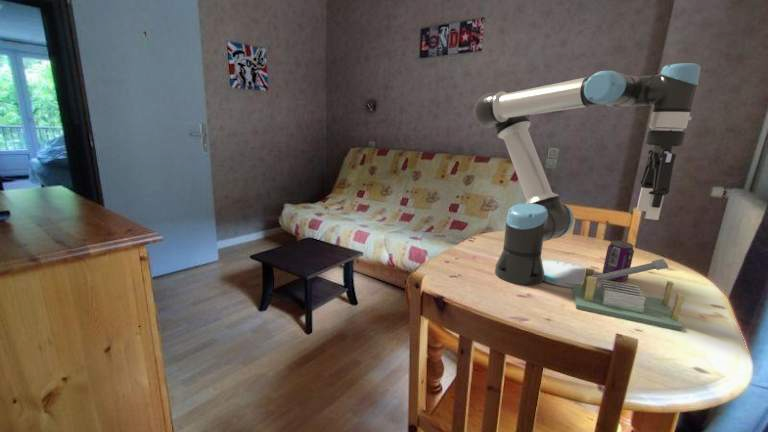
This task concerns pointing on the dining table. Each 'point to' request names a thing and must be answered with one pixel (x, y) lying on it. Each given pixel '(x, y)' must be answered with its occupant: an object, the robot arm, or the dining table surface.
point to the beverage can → (618, 258)
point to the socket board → (651, 314)
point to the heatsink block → (621, 296)
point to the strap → (632, 270)
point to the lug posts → (590, 287)
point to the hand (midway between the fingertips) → (646, 214)
